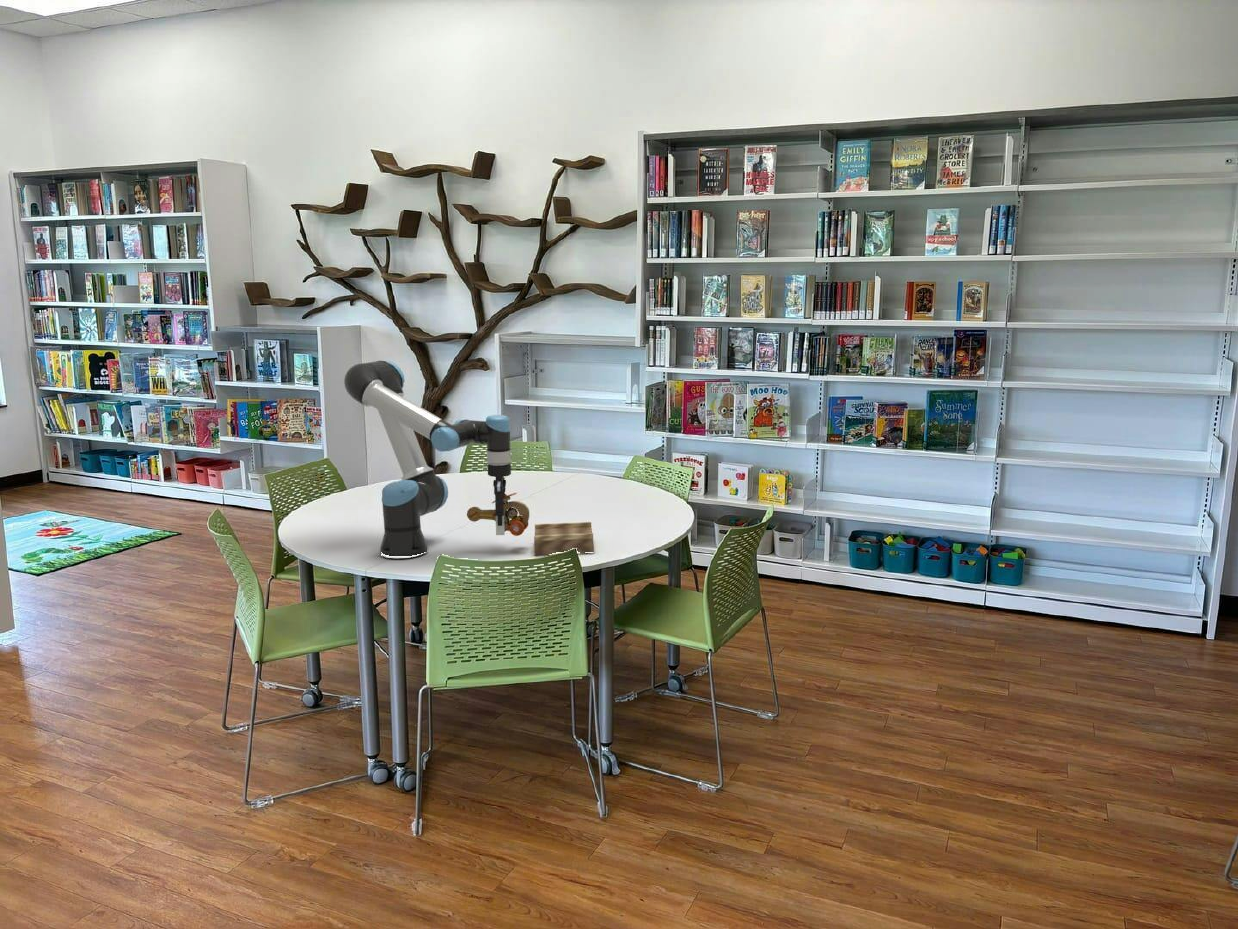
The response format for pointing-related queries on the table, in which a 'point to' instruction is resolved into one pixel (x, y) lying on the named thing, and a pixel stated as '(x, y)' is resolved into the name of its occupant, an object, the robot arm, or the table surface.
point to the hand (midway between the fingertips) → (501, 531)
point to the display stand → (563, 538)
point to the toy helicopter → (505, 515)
